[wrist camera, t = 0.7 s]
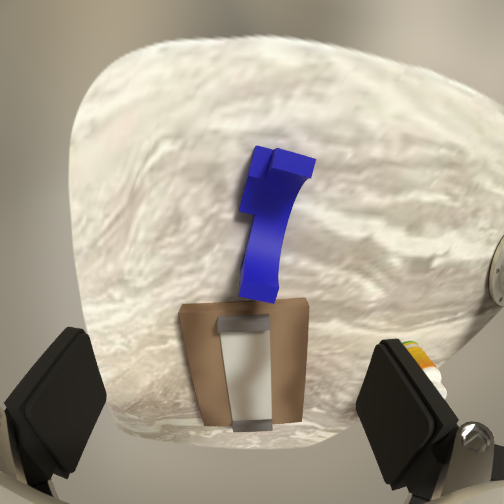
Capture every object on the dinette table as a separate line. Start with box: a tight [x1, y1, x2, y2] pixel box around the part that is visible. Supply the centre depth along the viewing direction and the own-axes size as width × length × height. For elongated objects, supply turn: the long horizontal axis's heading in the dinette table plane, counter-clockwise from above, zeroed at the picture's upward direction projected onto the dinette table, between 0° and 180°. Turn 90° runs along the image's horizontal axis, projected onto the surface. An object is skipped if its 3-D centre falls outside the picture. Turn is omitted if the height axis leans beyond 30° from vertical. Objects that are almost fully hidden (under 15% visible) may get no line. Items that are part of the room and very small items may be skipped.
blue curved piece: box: [239, 146, 316, 304], centre depth 25 cm, size 12×4×6 cm, turn 166°
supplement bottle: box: [401, 339, 447, 399], centre depth 29 cm, size 5×5×10 cm
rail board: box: [179, 298, 309, 432], centre depth 31 cm, size 13×18×4 cm
